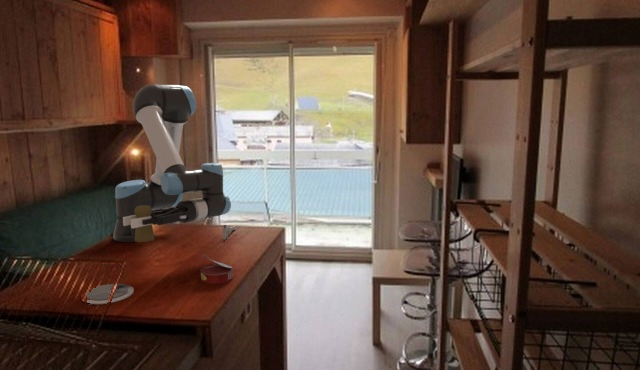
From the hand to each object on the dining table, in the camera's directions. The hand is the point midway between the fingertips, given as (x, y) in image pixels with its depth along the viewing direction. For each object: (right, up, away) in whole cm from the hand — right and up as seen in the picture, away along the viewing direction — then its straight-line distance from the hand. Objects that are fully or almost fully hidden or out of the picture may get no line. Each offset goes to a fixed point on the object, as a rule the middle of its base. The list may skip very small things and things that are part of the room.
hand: (127, 222), depth 145 cm
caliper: (+21, -10, +56) cm, 60 cm away
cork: (+3, -6, +5) cm, 9 cm away
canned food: (+27, -18, +3) cm, 33 cm away
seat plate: (-2, -20, -11) cm, 23 cm away
